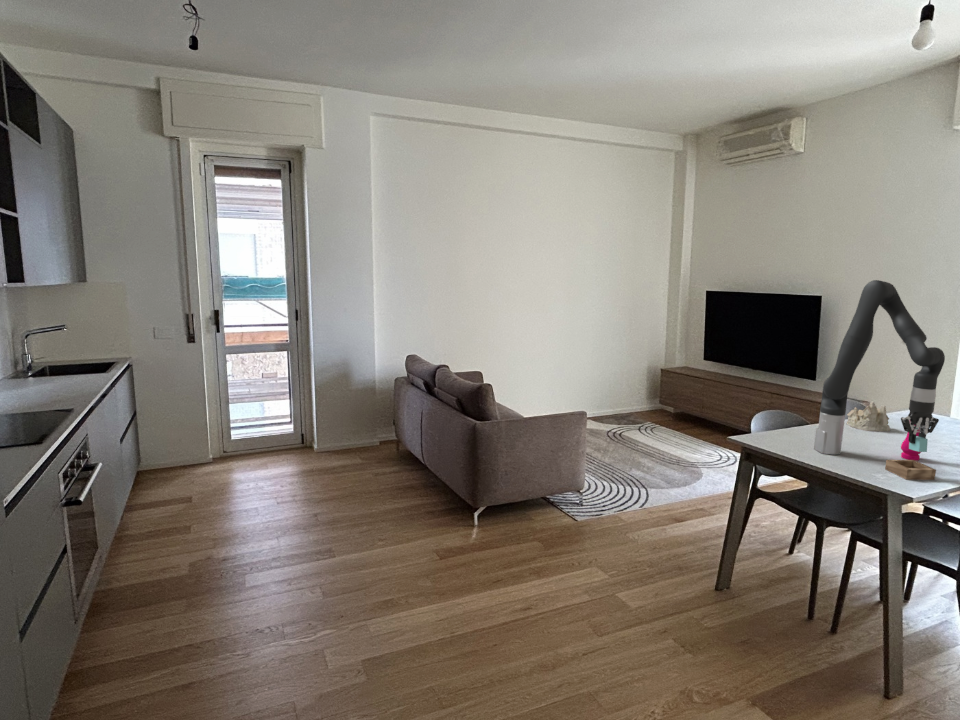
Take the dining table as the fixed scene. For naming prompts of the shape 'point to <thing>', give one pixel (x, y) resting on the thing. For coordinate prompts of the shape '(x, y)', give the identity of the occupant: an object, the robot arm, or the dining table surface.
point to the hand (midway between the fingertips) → (916, 442)
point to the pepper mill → (908, 452)
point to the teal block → (919, 444)
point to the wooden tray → (910, 469)
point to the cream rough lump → (869, 419)
